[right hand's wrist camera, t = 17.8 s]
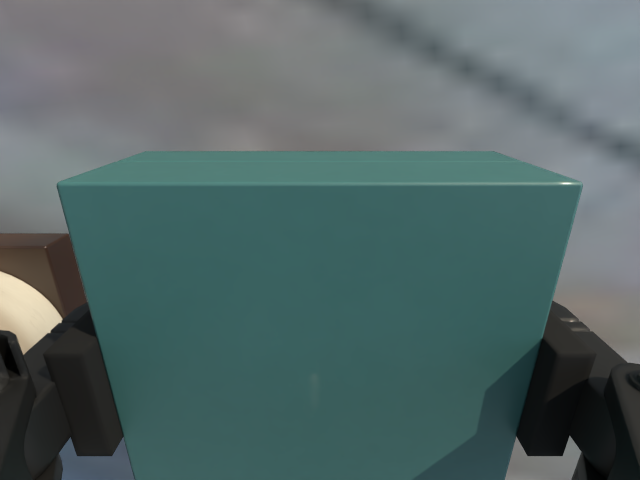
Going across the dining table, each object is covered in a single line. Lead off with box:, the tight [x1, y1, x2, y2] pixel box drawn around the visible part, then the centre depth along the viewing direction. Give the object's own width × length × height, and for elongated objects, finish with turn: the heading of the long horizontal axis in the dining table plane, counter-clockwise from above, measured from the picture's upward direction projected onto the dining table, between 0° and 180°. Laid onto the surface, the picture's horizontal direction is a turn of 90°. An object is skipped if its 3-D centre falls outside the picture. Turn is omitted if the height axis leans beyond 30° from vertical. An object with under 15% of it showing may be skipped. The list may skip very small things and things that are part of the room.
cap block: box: [57, 151, 583, 480], centre depth 10 cm, size 9×9×4 cm
